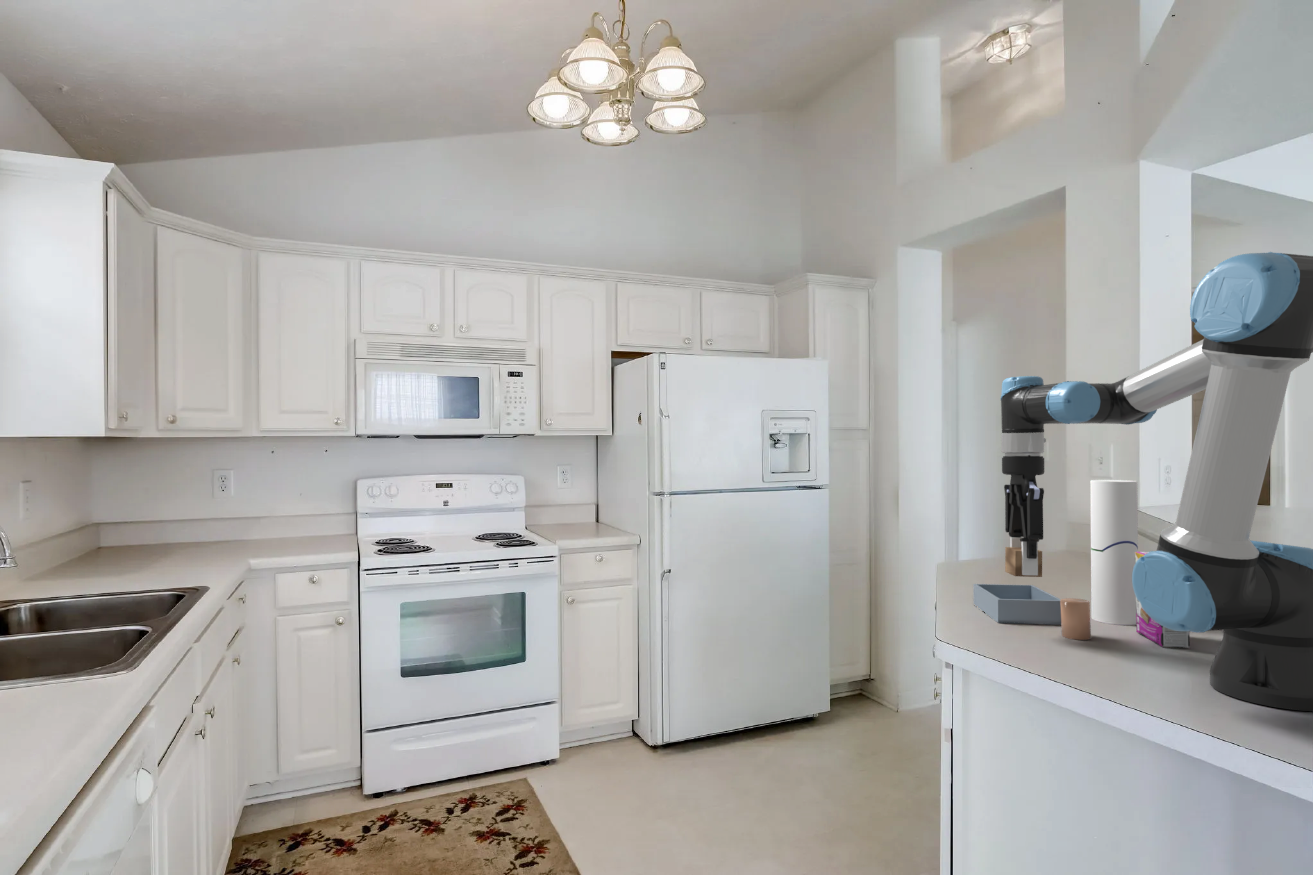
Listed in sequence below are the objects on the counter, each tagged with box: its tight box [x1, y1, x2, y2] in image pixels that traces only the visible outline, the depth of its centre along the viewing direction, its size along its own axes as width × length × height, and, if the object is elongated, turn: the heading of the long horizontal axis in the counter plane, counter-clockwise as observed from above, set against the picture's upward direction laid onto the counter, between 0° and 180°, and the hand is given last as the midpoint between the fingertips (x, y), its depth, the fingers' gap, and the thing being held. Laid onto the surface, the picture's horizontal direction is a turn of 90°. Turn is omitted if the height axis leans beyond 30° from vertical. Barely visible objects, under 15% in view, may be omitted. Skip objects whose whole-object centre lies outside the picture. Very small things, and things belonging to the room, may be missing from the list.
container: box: [1089, 479, 1139, 626], centre depth 155 cm, size 9×9×30 cm
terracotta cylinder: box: [1060, 597, 1092, 641], centre depth 142 cm, size 5×5×7 cm
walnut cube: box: [1004, 546, 1043, 578], centre depth 143 cm, size 5×5×5 cm
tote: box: [972, 583, 1062, 626], centre depth 161 cm, size 17×13×5 cm
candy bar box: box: [1135, 551, 1191, 649], centre depth 139 cm, size 11×5×16 cm, turn 168°
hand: (1023, 572), depth 143 cm, fingers closed on walnut cube, 5 cm apart
